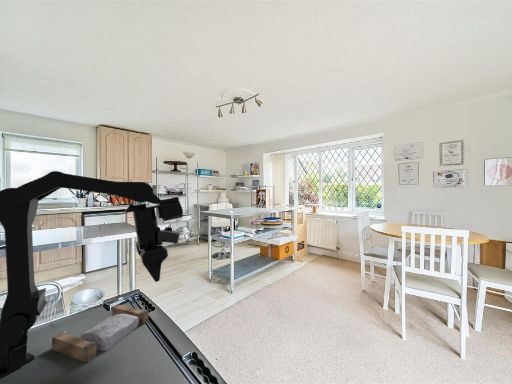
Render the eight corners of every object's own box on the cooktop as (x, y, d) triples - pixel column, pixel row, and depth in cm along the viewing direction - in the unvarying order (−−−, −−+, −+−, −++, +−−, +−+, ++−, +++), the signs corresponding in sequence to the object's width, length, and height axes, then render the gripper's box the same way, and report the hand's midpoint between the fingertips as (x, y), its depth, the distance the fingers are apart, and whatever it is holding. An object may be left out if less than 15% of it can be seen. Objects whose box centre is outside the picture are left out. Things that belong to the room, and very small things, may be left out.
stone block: (74, 355, 56) (108, 353, 54) (73, 335, 56) (106, 332, 55) (114, 329, 68) (142, 327, 66) (112, 313, 68) (140, 310, 66)
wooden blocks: (51, 349, 55) (52, 335, 55) (117, 313, 72) (118, 302, 72) (87, 362, 51) (87, 347, 51) (148, 321, 68) (148, 310, 68)
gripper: (182, 222, 61) (190, 276, 63) (168, 216, 77) (175, 259, 78) (137, 232, 55) (147, 291, 57) (132, 223, 71) (139, 270, 72)
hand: (154, 276), depth 66 cm, fingers open, 9 cm apart
